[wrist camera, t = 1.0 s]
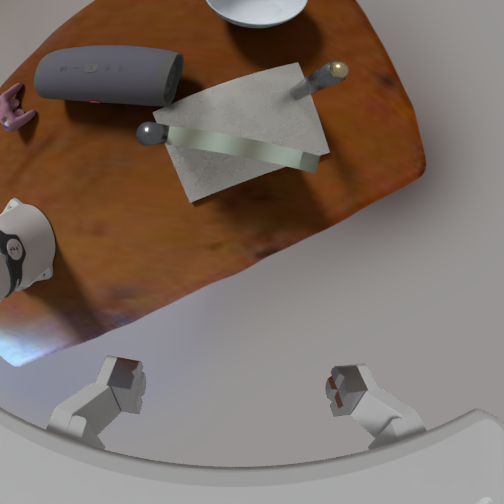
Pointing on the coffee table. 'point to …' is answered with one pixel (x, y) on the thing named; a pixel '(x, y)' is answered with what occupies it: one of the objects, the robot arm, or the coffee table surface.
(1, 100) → the video game controller
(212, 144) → the gate
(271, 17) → the chinaware
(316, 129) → the gate frame
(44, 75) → the bluetooth speaker
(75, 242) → the coffee table surface
